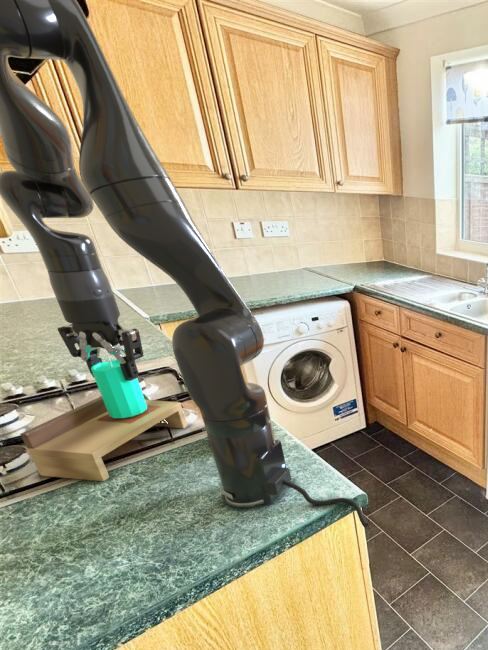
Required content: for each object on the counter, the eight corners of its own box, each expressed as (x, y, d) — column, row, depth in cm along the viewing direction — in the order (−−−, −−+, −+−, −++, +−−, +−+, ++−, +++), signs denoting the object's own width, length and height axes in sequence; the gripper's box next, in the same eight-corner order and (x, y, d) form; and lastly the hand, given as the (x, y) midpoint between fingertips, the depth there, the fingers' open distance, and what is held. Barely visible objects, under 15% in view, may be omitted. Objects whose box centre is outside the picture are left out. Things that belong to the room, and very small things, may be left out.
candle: (151, 411, 87) (132, 357, 82) (113, 421, 82) (90, 365, 77) (143, 401, 90) (124, 349, 85) (106, 411, 86) (84, 356, 81)
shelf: (187, 425, 94) (176, 390, 91) (103, 481, 76) (85, 439, 72) (136, 421, 95) (123, 385, 91) (41, 475, 77) (19, 433, 73)
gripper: (140, 292, 79) (166, 373, 86) (68, 287, 80) (99, 368, 87) (103, 301, 72) (134, 388, 80) (24, 295, 73) (62, 383, 80)
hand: (116, 377), depth 83 cm, fingers closed on candle, 6 cm apart
